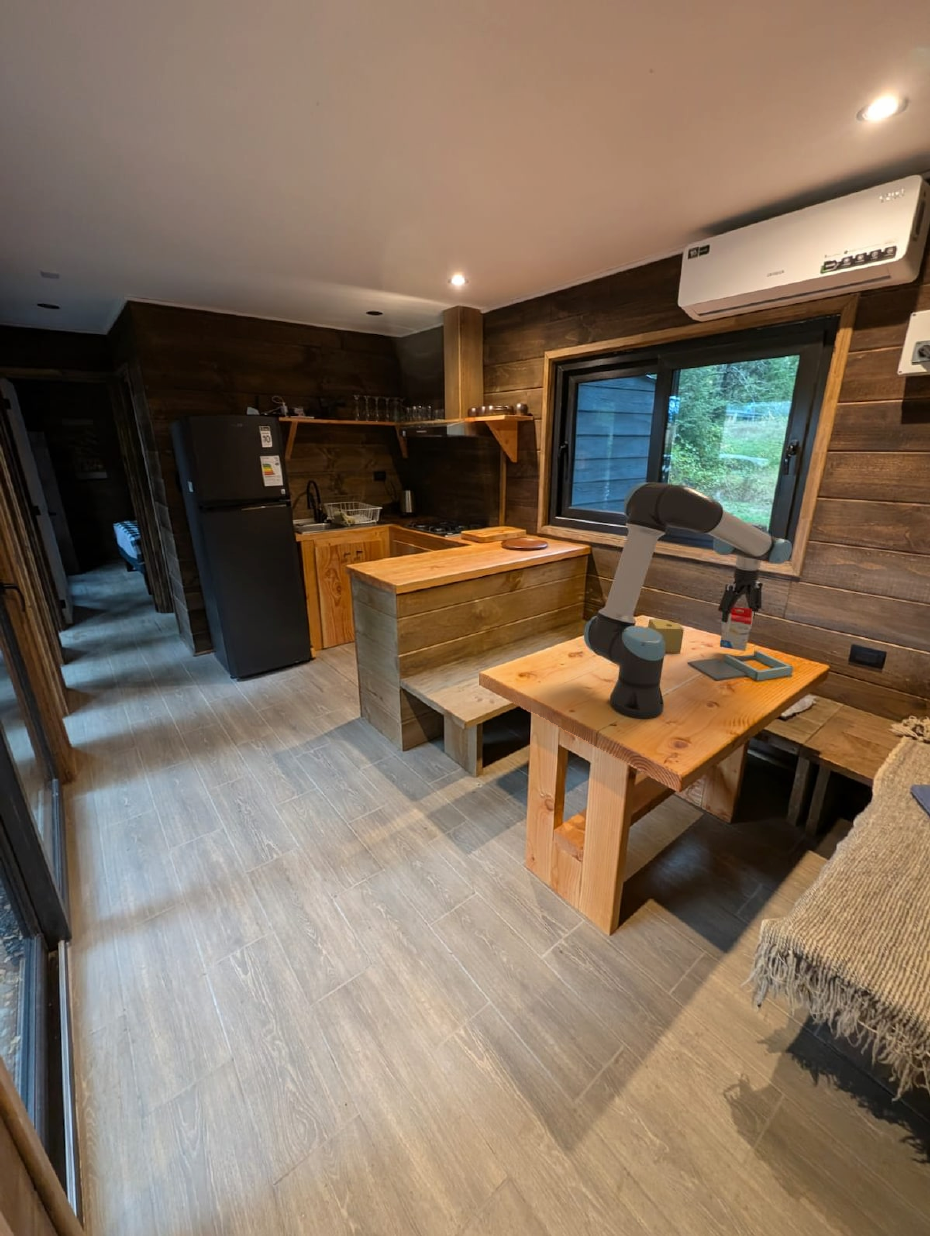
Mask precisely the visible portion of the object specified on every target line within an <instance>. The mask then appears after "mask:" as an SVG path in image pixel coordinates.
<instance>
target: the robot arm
mask: <svg viewBox="0 0 930 1236" xmlns="http://www.w3.org/2000/svg"><path fill="white" fill-rule="evenodd" d="M622 510H623V511H624V512H623V514H624V516H625V517H626V518H627V519H626V522H625V525H626V528H627V530H628V531H627V532H628V533H627V536H626V539H625V543H624V544H623V549H622V550H621V551H622V552H621V555H620V559H619V561H618V565H617V568H616V571H615V574H614V578H613V581H612V583H611V585H610V586H611V587H610V590H609V593H608V596H607V599H606V603H605V605H604V607H603V608H601V609H599V610H598V612H597V614H596V615H595V616H592V617H591V618H590V620H588V621H587V623H585V627H584V630H583V639H584V643H585V646H586V647H587V648H588V649H589V650H590V651H592V652H593V653H594V654H596V655H597V656H600V657H602V658H604V659H606V660H607V661H609V662H611V663H613V664H615V665H617V666H618V679H617V681H616V683H615V685H614V686H613V690H612V692H611V693H610V695H609V705H610V707H611V708H612V709H613V710H614V711H615V712H617V713H618V714H621V715H623V716H626V717H630V718H633V719H634V718H635V719H652V718H653V719H655V718H657V717H658V716H661V715H662V713H663V711H664V704H665V703H664V699H663V694H662V690H661V679H662V674H663V673H662V672H663V666H664V661H665V660H664V659H665V655H666V653H665V640H664V638H663V636H662V635H661V634H660V633H658V632H657V631H655V630H653V629H651V628H648V626H647V627H645V626H644V625H643V626H642V625H636V623H637V621H636V619H635V617H634V613H635V609H636V607H637V604H638V600H639V598H640V594H641V591H642V589H643V586H644V582H645V579H646V576H647V573H648V569H649V567H650V564H651V562H652V561H651V560H652V557H653V554H654V551H655V548H656V547H657V546H656V545H657V542H658V540H659V538H661V537H662V536H664V535H665V534H666V533H667V529H668V528H672V529H673V528H676V529H680V530H688V531H692V532H694V533H697V534H699V535H710V536H712V537H713V540H712V548H713V551H714V552H715V553H716V554H718V555H720V556H730V555H733V556H736V560H735V566H736V567H735V568H734V573H733V578H734V581H733V583H732V584H729V583H726V584H725V587H724V593H723V595H722V597H721V601H720V603H719V606H718V609H717V611H718V612H721V613H722V615H721V616H722V617H721V626H720V627H721V629H720V630H721V631H722V630H724V631H726V632H728V631H729V626H730V620H731V615H732V614H730V612H731V610H732V608H733V607H735V605H736V604H737V602H738V600H739V598H741V597H742V596H743V595H745V598H746V599H745V600H746V602H747V607H748V608H749V609H752V614H751V617H752V621H751V626H750V630H751V629H752V625H753V622H754V619H755V616H756V613H758V612H759V611H760V609H762V589H763V585H764V584H763V582H761V581H758V579H759V575H760V570H759V569H760V568H761V564H762V562H764V563H765V562H766V563H770V564H776V565H781V564H784V563H786V562H787V561H788V560H789V558H790V556H791V554H792V551H793V547H792V543H791V541H789V540H788V539H783V538H781V537H779V538H777V537H775V536H772V535H770V534H768V525H767V524H766V523H763V522H758V521H757V522H755V521H754V522H753V521H750V522H746V521H744V520H743V519H741V518H740V517H737V516H735V515H734V514H732V513H730V512H728V511H726V510H725V509H724V507H723V505H722V503H720V502H719V501H717V500H715V499H713V498H711V497H710V496H708V495H707V494H705V493H703V492H701V491H698V490H697V489H695V488H692V487H689V486H688V485H683V484H671V483H662V482H655V481H652V482H640V483H638V484H636V485H634V486H633V487H632V488H631V489H630V490H628V493H627V494H626V495H625V498H624V500H623V505H622Z"/></svg>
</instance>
